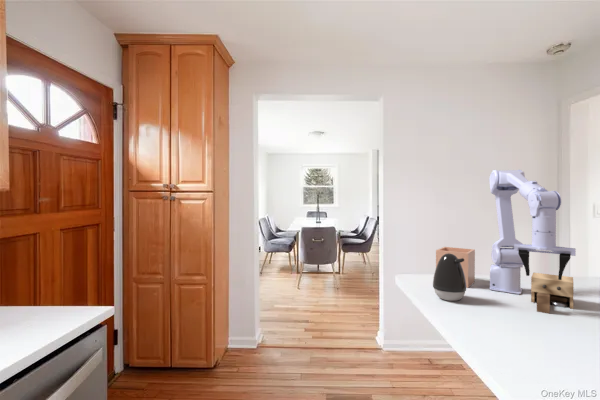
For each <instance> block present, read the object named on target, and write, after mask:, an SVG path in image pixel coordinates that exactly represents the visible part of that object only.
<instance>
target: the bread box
mask: <svg viewBox="0 0 600 400" xmlns="http://www.w3.org/2000/svg"><path fill="white" fill-rule="evenodd" d="M558 275H559V274H558ZM558 275H557V274H549V273H540V272H533V273H532V275H531V277H530V279H531V280H530V281H531V282H530V284H531V285H530V287H531V288H530V291H531V292H530V297H531V298H530V302H531V303H535V301H536V299H537V293H544V294H550V295H554V296H561V297H567V303H569V309H571V310H574V277H573V276H566V275H562V280H558Z"/></svg>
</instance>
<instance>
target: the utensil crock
mask: <svg viewBox="0 0 600 400" xmlns="http://www.w3.org/2000/svg"><path fill="white" fill-rule="evenodd" d="M447 253H450V254H453V255H455V256H456V257H457V258H458V259H461V258H463V259H464V261H463V262H461V266H462V268H463V272H464V275H465V280H466V289H468V288H470V287H471V286H472V285H473V284H474V283H476V281H475V279H476V277H475V276H476V272H475V271H476V250H475V248H463V247H451V246H443V247H441V248H438V249H436V250H435V268H436V267H437V264H438V262H439V260H440V258H441V257H442V256H443V255H444V254H447Z"/></svg>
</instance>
